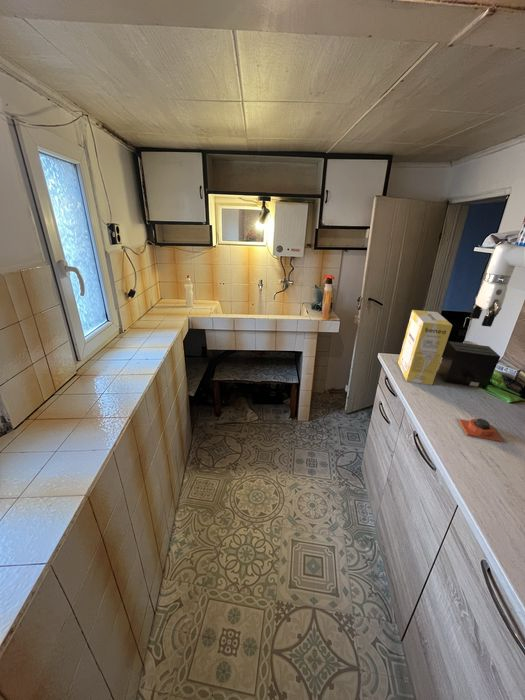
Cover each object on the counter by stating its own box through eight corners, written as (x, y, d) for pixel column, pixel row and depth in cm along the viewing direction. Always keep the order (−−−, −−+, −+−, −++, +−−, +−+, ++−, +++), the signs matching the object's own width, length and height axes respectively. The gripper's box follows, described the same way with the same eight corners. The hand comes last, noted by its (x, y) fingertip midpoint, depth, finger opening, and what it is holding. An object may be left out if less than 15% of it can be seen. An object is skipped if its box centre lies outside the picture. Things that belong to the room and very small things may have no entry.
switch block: (490, 427, 97) (493, 421, 96) (501, 443, 90) (504, 436, 89) (458, 421, 100) (460, 415, 99) (466, 436, 93) (469, 429, 92)
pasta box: (397, 364, 140) (412, 309, 128) (420, 367, 138) (437, 312, 126) (405, 382, 124) (423, 322, 112) (431, 386, 122) (452, 325, 110)
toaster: (476, 377, 130) (489, 346, 123) (486, 390, 120) (500, 356, 113) (437, 371, 134) (448, 340, 127) (444, 383, 124) (456, 350, 117)
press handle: (472, 379, 120) (473, 375, 119) (477, 386, 115) (479, 382, 114) (464, 378, 121) (465, 374, 120) (469, 385, 115) (471, 381, 115)
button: (485, 424, 95) (487, 419, 94) (489, 430, 92) (491, 426, 91) (473, 421, 96) (475, 417, 95) (477, 428, 93) (479, 424, 92)
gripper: (521, 284, 98) (502, 330, 105) (495, 276, 113) (480, 316, 120) (497, 282, 99) (480, 328, 106) (474, 274, 114) (460, 314, 122)
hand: (480, 322), depth 113 cm, fingers open, 9 cm apart
